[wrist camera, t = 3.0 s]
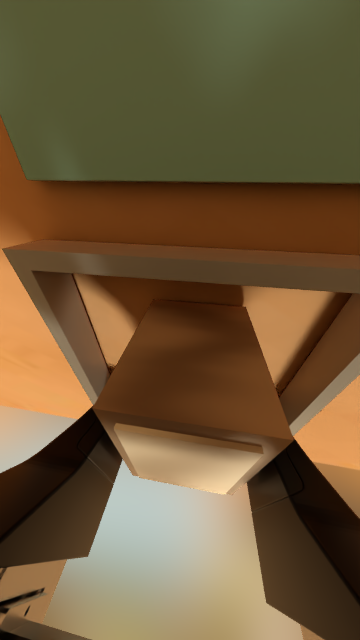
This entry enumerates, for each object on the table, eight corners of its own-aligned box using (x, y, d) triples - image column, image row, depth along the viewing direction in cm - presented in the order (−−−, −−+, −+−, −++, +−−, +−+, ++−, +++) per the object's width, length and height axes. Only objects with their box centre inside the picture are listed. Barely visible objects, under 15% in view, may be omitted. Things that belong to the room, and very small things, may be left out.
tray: (402, 257, 6) (466, 275, 5) (280, 411, 14) (290, 438, 12) (43, 239, 8) (1, 248, 6) (106, 386, 15) (94, 407, 14)
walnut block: (245, 306, 9) (296, 447, 4) (222, 383, 13) (232, 499, 8) (153, 299, 9) (88, 414, 4) (160, 375, 13) (131, 479, 8)
